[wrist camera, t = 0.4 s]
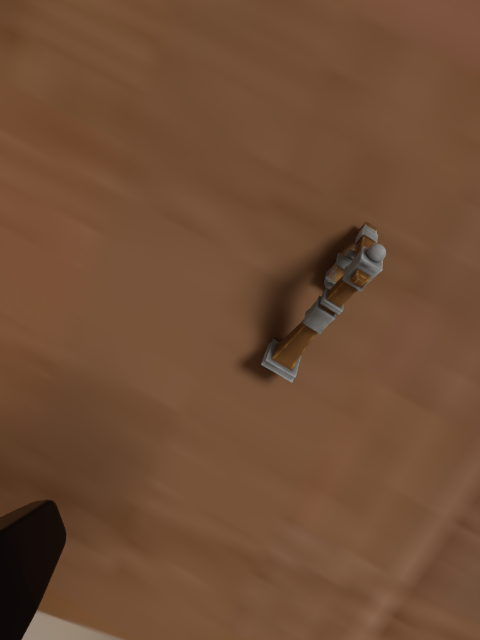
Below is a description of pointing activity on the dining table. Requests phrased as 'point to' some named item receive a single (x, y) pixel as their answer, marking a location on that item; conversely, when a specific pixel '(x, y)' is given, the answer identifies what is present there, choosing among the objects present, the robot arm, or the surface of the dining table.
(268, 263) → the dining table surface
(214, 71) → the dining table surface
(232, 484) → the dining table surface
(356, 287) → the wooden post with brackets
